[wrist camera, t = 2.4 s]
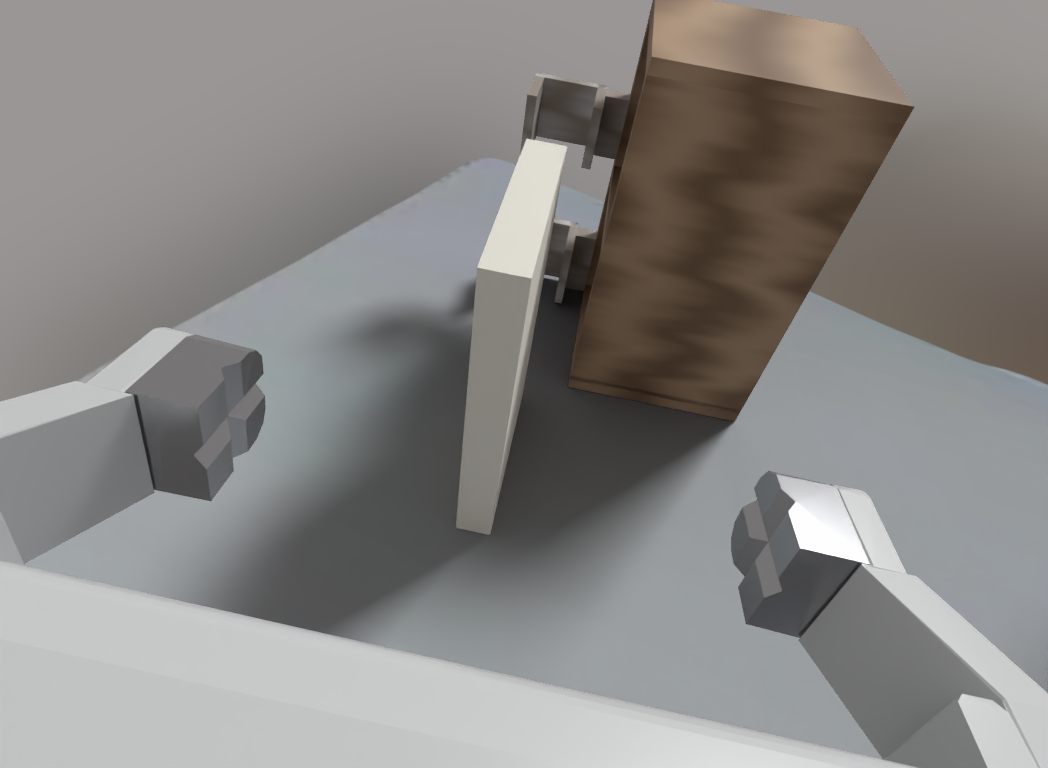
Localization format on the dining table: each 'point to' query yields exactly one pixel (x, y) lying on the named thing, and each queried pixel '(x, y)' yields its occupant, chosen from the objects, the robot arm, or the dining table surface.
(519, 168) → the door
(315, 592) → the dining table surface
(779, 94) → the cabinet
